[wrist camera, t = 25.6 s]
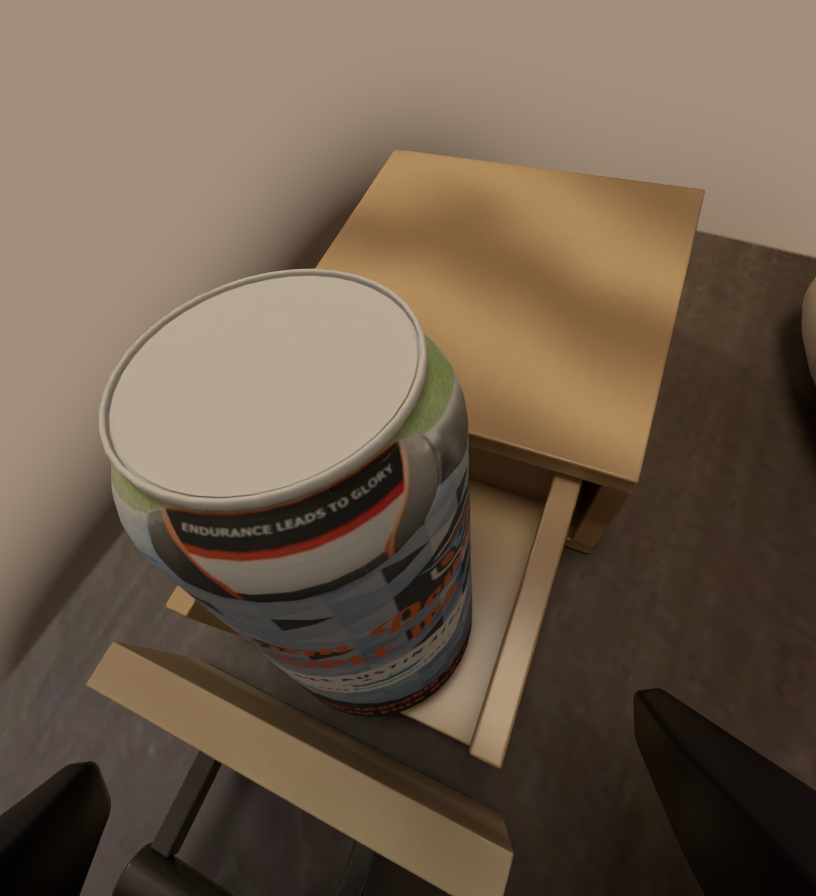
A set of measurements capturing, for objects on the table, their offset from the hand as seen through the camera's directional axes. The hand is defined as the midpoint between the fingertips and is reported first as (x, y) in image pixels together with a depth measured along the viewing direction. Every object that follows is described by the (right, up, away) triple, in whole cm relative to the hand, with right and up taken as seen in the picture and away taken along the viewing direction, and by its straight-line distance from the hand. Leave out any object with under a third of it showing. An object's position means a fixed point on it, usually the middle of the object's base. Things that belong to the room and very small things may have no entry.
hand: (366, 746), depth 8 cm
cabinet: (+4, +8, +15) cm, 18 cm away
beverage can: (0, 0, +9) cm, 9 cm away
